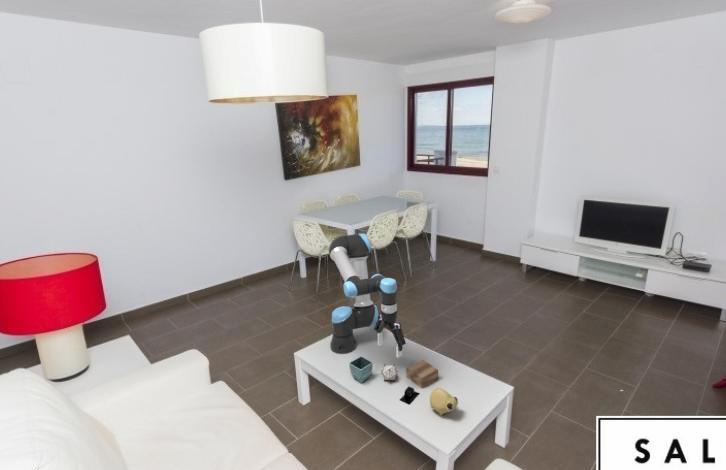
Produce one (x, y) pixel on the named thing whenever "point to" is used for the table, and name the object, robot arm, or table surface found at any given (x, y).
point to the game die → (389, 372)
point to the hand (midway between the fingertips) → (389, 350)
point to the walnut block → (422, 373)
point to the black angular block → (409, 395)
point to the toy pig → (442, 401)
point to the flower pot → (361, 368)
